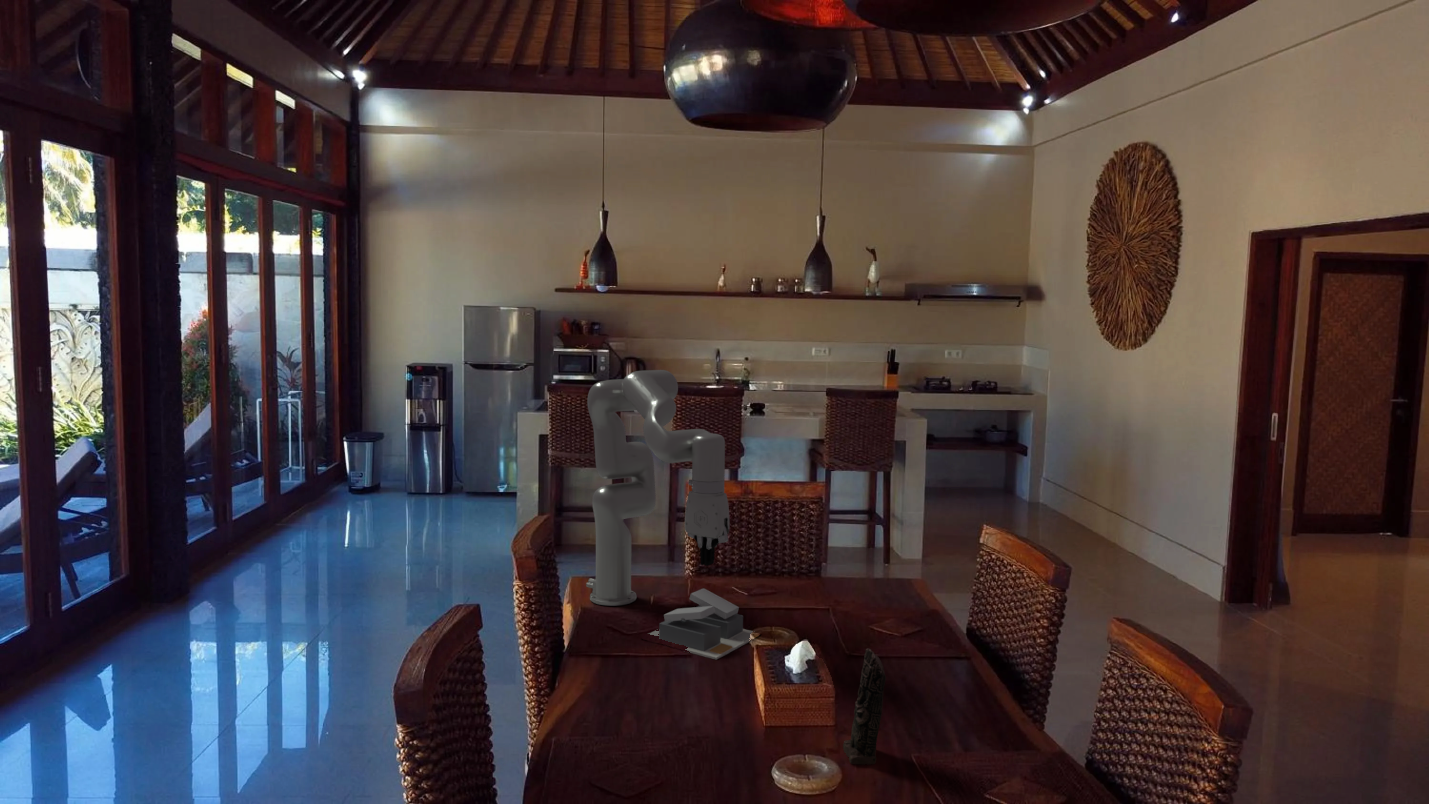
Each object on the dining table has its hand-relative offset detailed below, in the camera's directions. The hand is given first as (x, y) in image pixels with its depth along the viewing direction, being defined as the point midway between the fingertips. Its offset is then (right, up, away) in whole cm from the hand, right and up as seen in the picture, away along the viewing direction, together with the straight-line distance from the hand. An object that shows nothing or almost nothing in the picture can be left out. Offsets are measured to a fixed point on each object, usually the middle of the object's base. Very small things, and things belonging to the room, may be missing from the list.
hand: (707, 563), depth 232 cm
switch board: (-1, -19, +9) cm, 21 cm away
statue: (+29, -27, -51) cm, 64 cm away
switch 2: (+1, -13, +13) cm, 18 cm away
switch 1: (-4, -13, +4) cm, 15 cm away
